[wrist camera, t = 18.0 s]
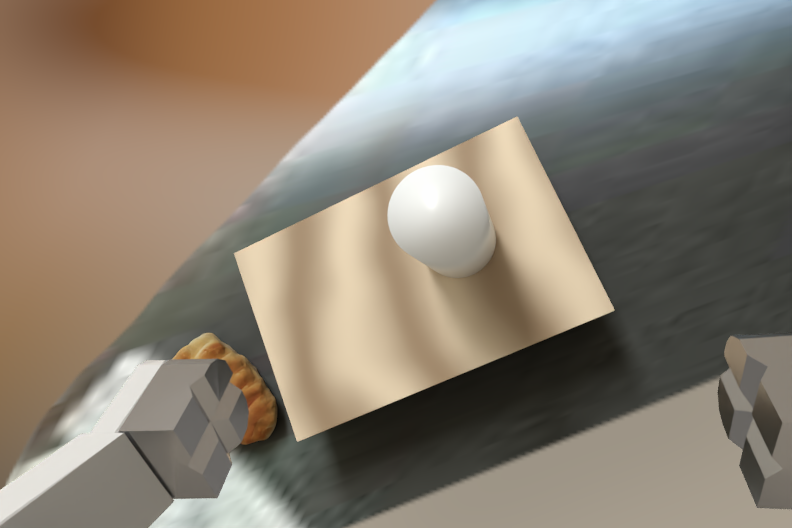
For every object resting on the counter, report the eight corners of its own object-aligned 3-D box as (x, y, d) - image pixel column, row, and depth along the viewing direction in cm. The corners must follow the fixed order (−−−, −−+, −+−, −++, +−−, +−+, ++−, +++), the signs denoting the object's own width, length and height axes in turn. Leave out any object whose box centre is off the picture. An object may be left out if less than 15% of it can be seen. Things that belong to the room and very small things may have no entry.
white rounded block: (457, 187, 37) (435, 145, 29) (512, 238, 36) (505, 209, 27) (404, 241, 37) (368, 215, 29) (457, 294, 36) (434, 281, 28)
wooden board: (519, 143, 42) (517, 116, 37) (604, 315, 38) (614, 310, 34) (265, 264, 45) (234, 253, 40) (324, 431, 42) (297, 441, 37)
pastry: (301, 389, 43) (279, 392, 39) (257, 465, 43) (231, 476, 39) (211, 327, 46) (183, 325, 42) (170, 399, 46) (138, 403, 42)
